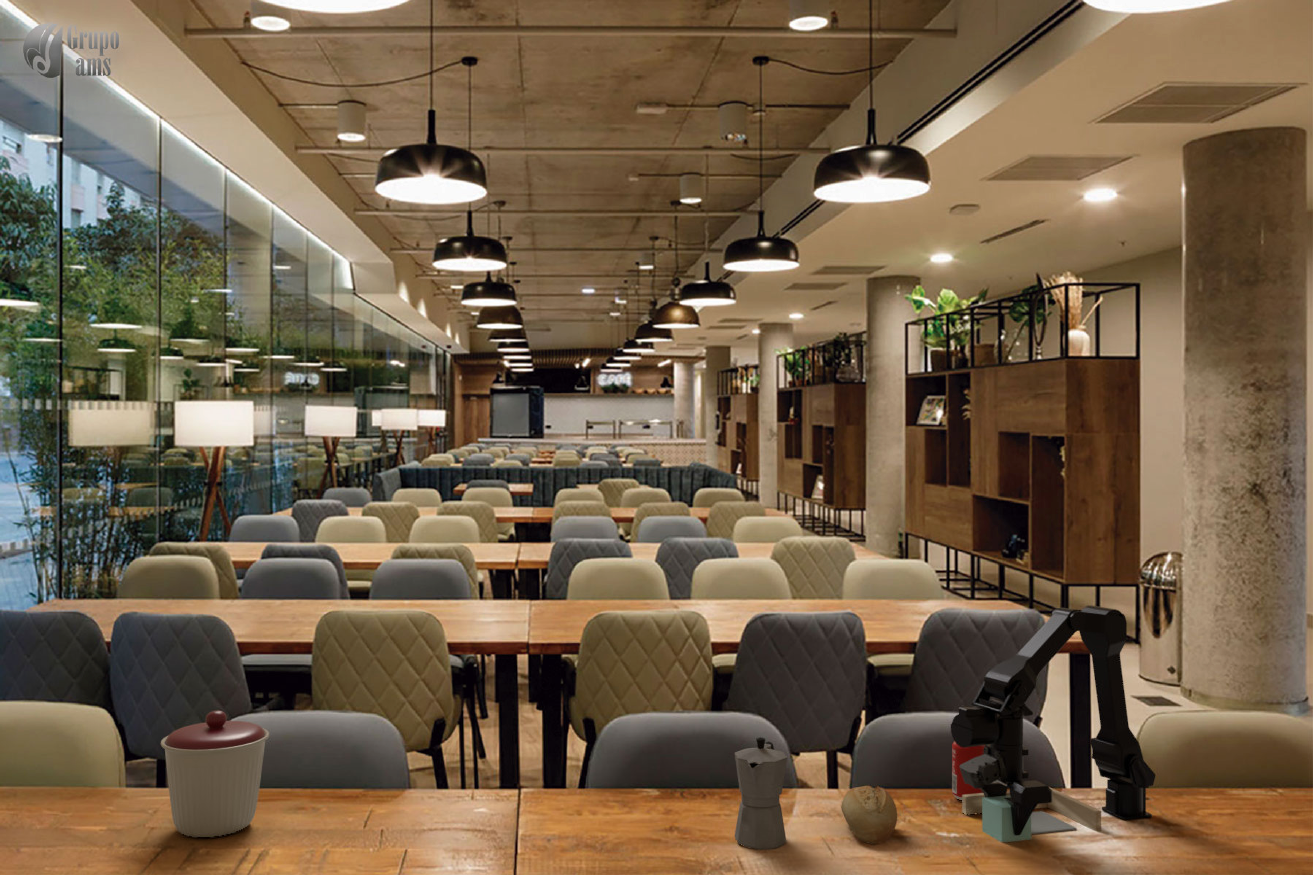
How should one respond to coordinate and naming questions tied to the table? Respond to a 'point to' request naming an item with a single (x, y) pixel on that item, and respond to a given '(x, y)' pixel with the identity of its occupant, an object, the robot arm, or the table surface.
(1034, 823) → the mat
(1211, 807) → the table surface
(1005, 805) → the cube
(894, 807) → the brown rounded lump
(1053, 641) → the robot arm
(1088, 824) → the wall back
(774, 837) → the coffeepot
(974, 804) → the wall side
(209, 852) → the table surface
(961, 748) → the beverage can
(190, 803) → the canister
